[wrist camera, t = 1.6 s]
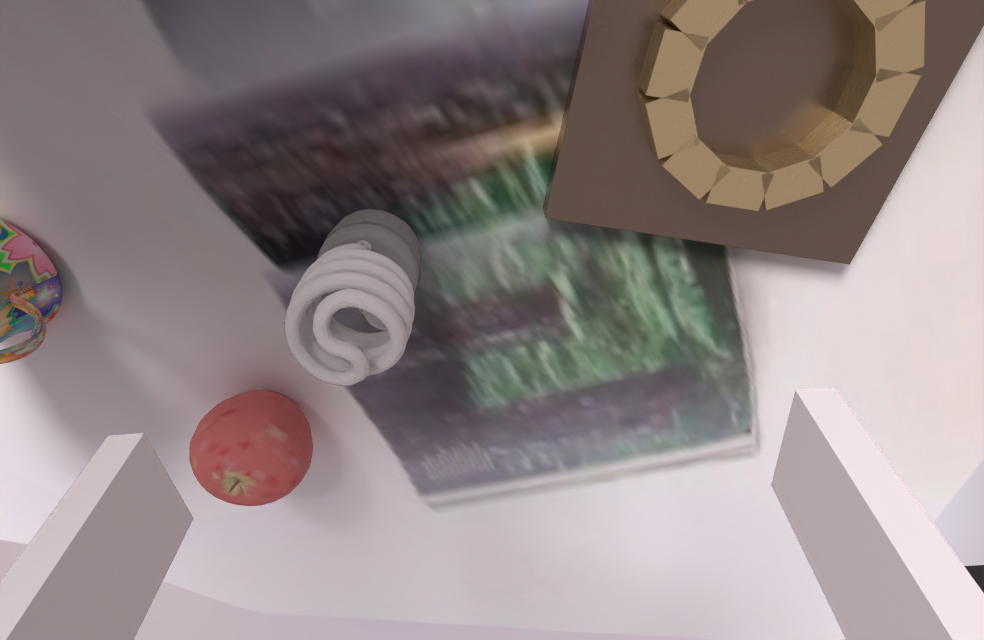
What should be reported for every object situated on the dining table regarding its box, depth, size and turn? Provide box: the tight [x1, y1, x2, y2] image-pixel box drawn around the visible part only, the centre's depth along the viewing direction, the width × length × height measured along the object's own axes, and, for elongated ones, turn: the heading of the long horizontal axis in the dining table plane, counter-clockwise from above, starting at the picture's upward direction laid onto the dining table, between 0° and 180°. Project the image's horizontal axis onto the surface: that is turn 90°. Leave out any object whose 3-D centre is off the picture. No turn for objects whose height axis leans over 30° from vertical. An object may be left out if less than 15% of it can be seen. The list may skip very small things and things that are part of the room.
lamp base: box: [543, 0, 984, 264], centre depth 29 cm, size 18×18×4 cm
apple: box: [190, 391, 313, 506], centre depth 40 cm, size 7×7×8 cm
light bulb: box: [284, 209, 421, 386], centre depth 30 cm, size 6×6×12 cm
